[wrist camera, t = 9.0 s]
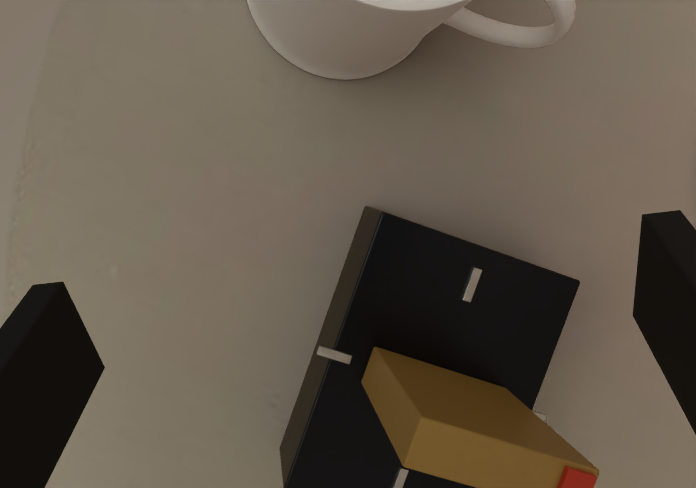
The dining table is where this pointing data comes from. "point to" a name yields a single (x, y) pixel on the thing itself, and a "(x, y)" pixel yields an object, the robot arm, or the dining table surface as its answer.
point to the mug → (383, 31)
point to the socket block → (416, 343)
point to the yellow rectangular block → (468, 428)
